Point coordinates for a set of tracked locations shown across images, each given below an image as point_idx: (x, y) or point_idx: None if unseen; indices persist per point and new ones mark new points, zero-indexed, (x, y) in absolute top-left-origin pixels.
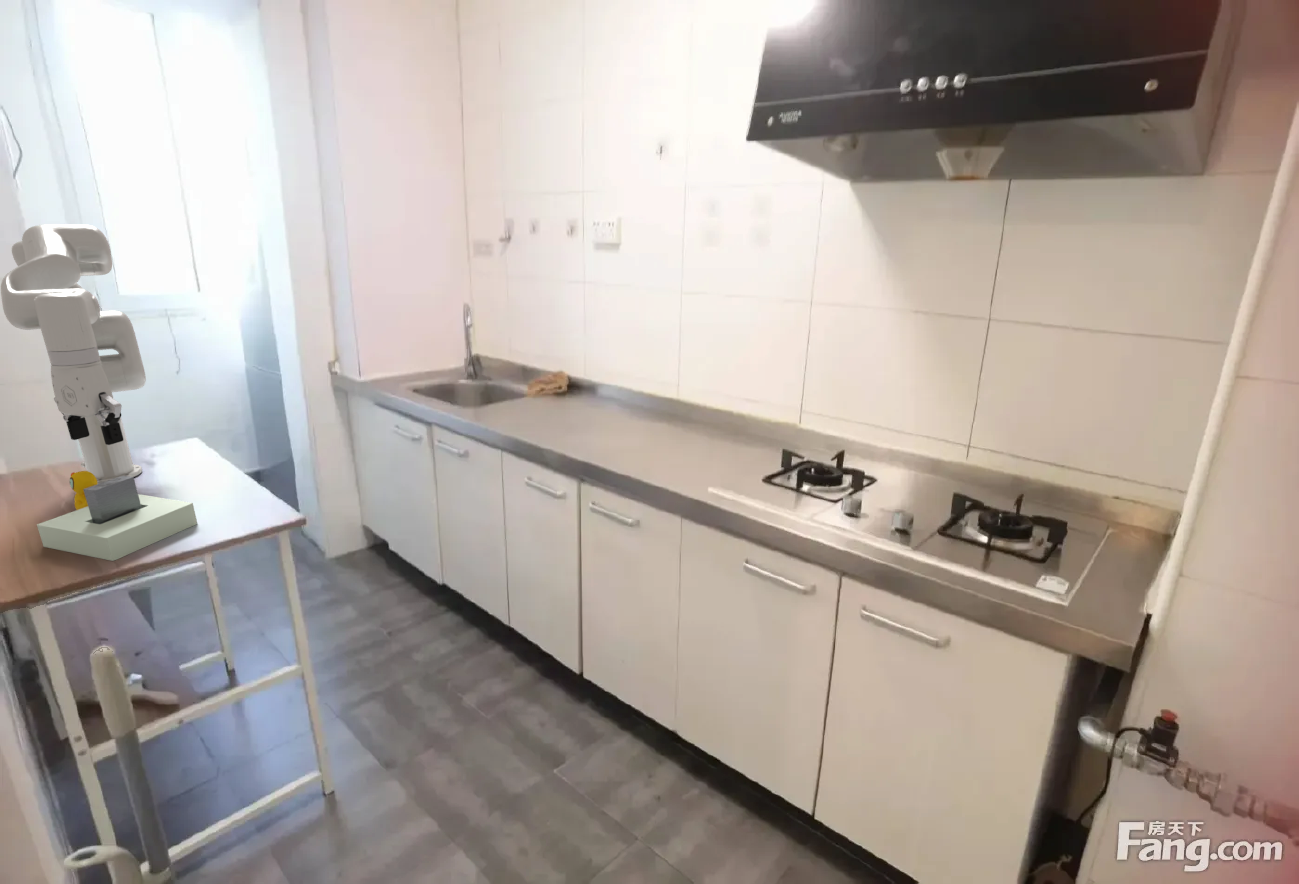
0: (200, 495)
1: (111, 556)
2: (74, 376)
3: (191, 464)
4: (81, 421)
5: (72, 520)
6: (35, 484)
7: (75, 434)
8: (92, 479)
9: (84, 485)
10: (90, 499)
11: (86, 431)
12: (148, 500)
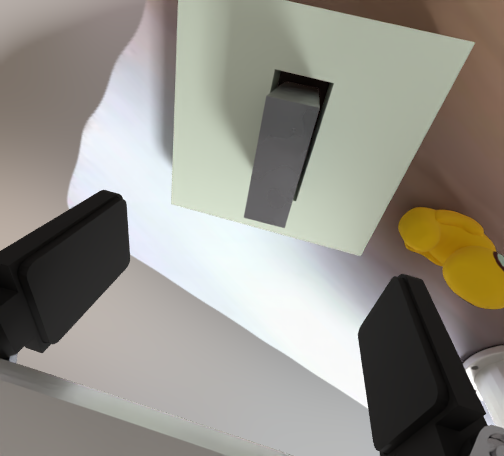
0: (280, 290)
1: None
2: None
3: None
4: (384, 420)
5: (376, 87)
6: None
7: (395, 306)
8: (449, 277)
9: (460, 255)
10: (299, 97)
11: (365, 349)
12: None
